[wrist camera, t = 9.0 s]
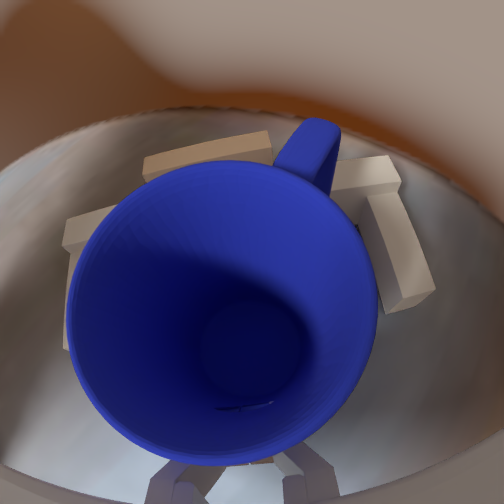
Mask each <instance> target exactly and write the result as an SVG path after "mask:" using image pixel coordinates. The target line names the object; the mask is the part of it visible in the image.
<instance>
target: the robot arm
mask: <svg viewBox="0 0 504 504" xmlns="http://www.w3.org/2000/svg"><path fill="white" fill-rule="evenodd" d="M272 402H274V401H271V402H264V403H257V404H250V405H242V407H241V406H234V407H220V408H214V409H216V410H219V411H224V412H240V411H241V412H245V411H251V410H255V409H259V408H261V407H264V406H266V405H268V404H271V403H272ZM250 463H251V464H264V463H274V464H275V465H276V466H277V467H278V468H279V469H280V470H281V471H282V472H283V474H284V475H285V476H286V477H285V478H284V479H283V480H282V481H283V495H284V504H504V428H502V429H501V430H499V431H498V432H496V433H494V434H493V435H491V436H489V437H488V438H486V439H484V440H483V441H481V442H479V443H477V444H475V445H474V446H472V447H470V448H468V449H466V450H464V451H462V452H460V453H458V454H456V455H454V456H452V457H450V458H448V459H446V460H444V461H442V462H440V463H438V464H435V465H433V466H431V467H428V468H426V469H424V470H421V471H419V472H416V473H414V474H411V475H409V476H406V477H403V478H400V479H398V480H395V481H392V482H389V483H386V484H383V485H380V486H376V487H373V488H370V489H366V490H363V491H359V492H355V493H352V494H348V495H343V496H340V494H339V489H338V485H337V481H336V476H335V472H334V468H333V466H332V465H330V464H329V463H328V462H327V461H325V460H324V459H323V458H322V457H320V456H319V455H318V454H317V453H315V452H314V451H313V450H312V449H311V448H309V447H308V446H307V445H306V444H305V443H304V442H300V443H298V444H297V445H295V446H293V447H291V448H289V449H286V450H284V451H282V452H280V453H278V454H276V455H273V456H270V457H267V458H264V459H261V460H258V461H255V462H250ZM241 465H249V463H245V464H239V465H232V466H241ZM226 467H230V466H199V465H192V464H186V463H181V462H177V461H174V460H170V461H169V462H168V463H167V464H166V465H165V466H164V467H163V468H162V469H161V470H160V471H158V472H157V473H156V474H155V475H154V476H153V477H152V478H151V479H150V483H149V487H148V491H147V495H146V499H145V503H144V504H209V503H208V502H207V501H206V499H205V498H204V497H205V496H206V495H207V493H208V492H209V491H210V490H211V488H212V487H213V486H214V484H215V483H216V482H217V480H218V479H219V477H220V476H221V475H222V473H223V472H224V471H225V469H226ZM0 504H131V503H125V502H120V501H114V500H110V499H105V498H100V497H96V496H92V495H88V494H84V493H80V492H77V491H73V490H70V489H66V488H63V487H60V486H57V485H54V484H51V483H48V482H45V481H42V480H39V479H37V478H34V477H32V476H29V475H26V474H24V473H22V472H19V471H17V470H15V469H12V468H10V467H8V466H6V465H4V464H1V463H0Z"/></svg>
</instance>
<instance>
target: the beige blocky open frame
mask: <svg viewBox="0 0 504 504" xmlns="http://www.w3.org/2000/svg"><path fill="white" fill-rule="evenodd" d="M220 160H238V161H251V162H257V163H261V164H266V165H270V166H272V165H273V155H272V146H271V143H270V139H269V136H268V132H267V130H266V131H260V132H254V133H248V134H243V135H237V136H232V137H227V138H222V139H217V140H213V141H208V142H203V143H199V144H195V145H190V146H186V147H182V148H178V149H174V150H170V151H166V152H162V153H158V154H155V155H151V156H148V157H144V163H143V171H142V176H143V178H144V179H145V181H146V183H148V182H150V181H151V180H153V179H155V178H157V177H159V176H161V175H163V174H165V173H168V172H170V171H173V170H175V169H179V168H182V167H185V166H189V165H192V164H198V163H203V162H209V161H220ZM401 182H402V181H401V179H400V177H399V175H398V173H397V171H396V169H395V167H394V165H393V163H392V162H391V160H390V158H389V156H388V155H386V156H376V157H366V158H357V159H348V160H340V161H337V162H336V167H335V173H334V178H333V183H332V188H331V192H330V196H329V197H330V198H331V199H332V200H333V201H334V202H335V203H336V204H337V205H338V206H339V207H340V208H341V209H342V210H343V211H344V212H345V214H346V215H347V216H348V217H349V219H350V220H351V222H352V223H353V224H354V225H358V227H359V230H360V233H361V236H362V239H363V242H364V244H365V246H366V249H367V251H368V253H369V257H370V260H371V263H372V266H373V270H374V273H375V279H376V283H377V286H378V290H379V293H380V297H381V300H382V304H383V308H384V311H385V315H386V314H390V313H394V312H397V311H401V310H405V309H408V308H412V307H415V306H416V305H418V304H419V303H420V302H421V301H422V300H424V299H425V298H426V297H427V296H429V295H430V294H431V293H432V292H433V291H434V290H436V288H435V285H434V282H433V279H432V276H431V273H430V270H429V267H428V264H427V262H426V259H425V256H424V254H423V251H422V248H421V246H420V243H419V241H418V238H417V236H416V233H415V231H414V229H413V226H412V224H411V221H410V219H409V217H408V214H407V212H406V210H405V208H404V206H403V203H402V201H401V199H400V197H399V195H398V193H397V192H398V189H399V187H400V185H401ZM117 205H118V204H117ZM115 206H116V205H113V206H109V207H106V208H102V209H99V210H95V211H92V212H89V213H85V214H82V215H79V216H75V217H72V218H69V219H67V221H66V226H65V231H64V236H63V241H62V247H63V248H64V249H65V250H67V251H68V252H69V253H70V261H69V269H68V277H67V286H66V297H65V310H64V327H63V349H65V350H69V346H68V341H67V332H66V307H67V299H68V293H69V288H70V284H71V280H72V276H73V273H74V270H75V267H76V264H77V262H78V260H79V258H80V255H81V253H82V251H83V249H84V247H85V245H86V244H87V242H88V240H89V239H90V237H91V235H92V234H93V232H94V231H95V230H96V228H97V227H98V226H99V224H100V223H101V222H102V220H103V219H104V218H105V217H106V216H107V215H108V214H109V213H110V212H111V211H112V209H113V208H114V207H115Z"/></svg>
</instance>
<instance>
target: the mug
mask: <svg viewBox="0 0 504 504" xmlns="http://www.w3.org/2000/svg"><path fill="white" fill-rule="evenodd" d="M340 140H341V130H340V128H339V127H338V126H337V125H336V124H334V123H332V122H330V121H327V120H323V119H319V118H308V119H306V120H305V121H304V122H303V123H302V124H301V125H300V126H299V127H298V128H297V130H296V131H295V132H294V133H293V134H292V136H291V137H290V139H289V140H288V141H287V143H286V144H285V146H284V147H283V149H282V150H281V151H280V153H279V155H278V156H277V158H276V160H275V161H274V163H273V165H272V166H270V165H266V164H261V163H257V162H251V161H238V160H220V161H209V162H203V163H198V164H192V165H189V166H185V167H182V168H179V169H175V170H173V171H170V172H168V173H165V174H163V175H161V176H159V177H157V178H155V179H153V180H151V181H150V182H148V183H146V184H144V185H143V186H141V187H139V188H138V189H136V190H135V191H134V192H132V193H131V194H130V195H128V196H127V197H126V198H124V199H123V200H122V201H121V202H120V203H119V204H118V205H116V206H115V207H114V208H113V209H112V211H111V212H110V213H109V214H108V215H107V216H106V217H105V218H104V219H103V220H102V222H101V223H100V224H99V226H98V227H97V228H96V230H95V231H94V232H93V234H92V235H91V237H90V239H89V240H88V242H87V244H86V245H85V247H84V249H83V251H82V253H81V255H80V258H79V260H78V262H77V264H76V267H75V270H74V273H73V276H72V280H71V284H70V288H69V293H68V299H67V307H66V332H67V341H68V346H69V352H70V356H71V359H72V363H73V366H74V369H75V372H76V374H77V377H78V379H79V381H80V383H81V385H82V387H83V389H84V391H85V393H86V395H87V396H88V398H89V399H90V401H91V402H92V404H93V405H94V407H95V408H96V409H97V410H98V412H99V413H100V414H101V415H102V416H103V417H104V419H105V420H106V421H107V422H108V423H109V424H110V425H111V426H112V427H114V428H115V429H116V430H117V431H118V432H119V433H121V434H122V435H123V436H125V437H126V438H127V439H129V440H130V441H132V442H133V443H135V444H136V445H138V446H140V447H142V448H144V449H146V450H147V451H149V452H152V453H154V454H156V455H159V456H161V457H164V458H167V459H170V460H174V461H177V462H181V463H186V464H192V465H199V466H232V465H239V464H245V463H250V462H255V461H258V460H261V459H264V458H267V457H270V456H273V455H276V454H278V453H280V452H282V451H284V450H286V449H289V448H291V447H293V446H295V445H297V444H298V443H300V442H302V441H303V440H305V439H306V438H307V437H309V436H310V435H312V434H313V433H314V432H316V431H317V430H318V429H319V428H321V427H322V426H323V425H324V424H325V423H326V422H327V421H328V420H329V419H330V418H331V417H332V416H333V415H334V414H335V413H336V412H337V411H338V410H339V408H340V407H341V406H342V405H343V404H344V403H345V401H346V400H347V398H348V397H349V395H350V394H351V393H352V391H353V390H354V388H355V387H356V385H357V383H358V381H359V379H360V377H361V375H362V373H363V371H364V369H365V366H366V364H367V361H368V359H369V356H370V353H371V350H372V346H373V342H374V338H375V334H376V326H377V318H378V295H377V286H376V279H375V273H374V270H373V266H372V263H371V260H370V257H369V253H368V251H367V249H366V246H365V244H364V242H363V240H362V238H361V236H360V234H359V232H358V231H357V229H356V227H355V226H354V224H353V223H352V222H351V220H350V219H349V217H348V216H347V215H346V214H345V212H344V211H343V210H342V209H341V208H340V207H339V206H338V205H337V204H336V203H335V202H334V201H333V200H332V199H331V198H330V197H329V196H330V192H331V188H332V183H333V178H334V173H335V167H336V162H337V157H338V151H339V146H340ZM271 401H274V402H272V403H271V404H268V405H266V406H264V407H261V408H259V409H255V410H251V411H245V412H241V411H240V412H224V411H219V410H216V409H214V408H220V407H234V406H241V407H242V405H250V404H257V403H264V402H271Z"/></svg>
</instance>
